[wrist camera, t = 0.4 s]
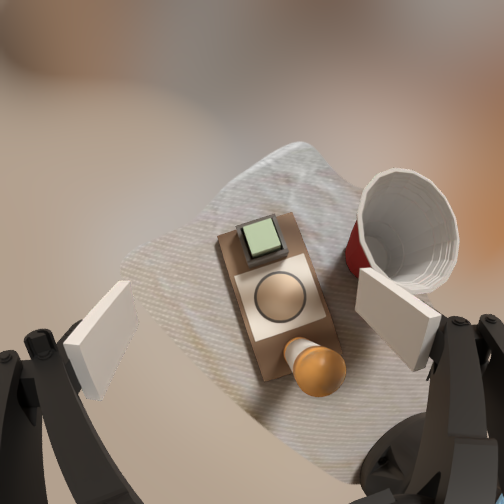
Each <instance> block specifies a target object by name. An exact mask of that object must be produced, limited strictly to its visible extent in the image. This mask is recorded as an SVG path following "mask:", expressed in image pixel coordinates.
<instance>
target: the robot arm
mask: <svg viewBox="0 0 504 504" xmlns="http://www.w3.org/2000/svg"><path fill="white" fill-rule="evenodd" d="M355 311H356V312H357V313H358V314H359V315H360V316H361V317H362V318H363V319H364V320H365V321H366V322H367V323H368V324H369V325H370V327H371V328H372V329H373V330H374V331H375V332H376V333H377V334H378V335H379V336H380V337H381V338H382V339H383V340H384V341H385V342H386V343H387V344H388V346H389V347H390V348H391V349H392V350H393V351H394V352H395V353H396V354H397V355H398V356H399V357H400V358H401V360H402V361H403V362H404V363H405V364H406V365H407V366H408V367H409V368H410V369H411V370H412V371H413V372H415V371H418V370H420V369H423V368H425V367H426V364H427V361H428V358H429V357H430V358H431V359H432V360H433V364H432V367H431V369H430V372H429V374H428V377H427V379H426V381H428V380H429V378H430V386H429V395H428V403H427V410H426V412H424V413H419V414H416V415H414V416H411V417H409V418H407V419H405V420H403V421H402V422H400V423H398V424H397V425H396V426H394V427H393V428H392V429H390V430H389V431H388V432H387V433H386V434H385V435H384V436H383V437H382V438H381V439H380V440H379V441H378V442H377V443H376V444H375V445H374V447H373V448H372V449H371V451H370V452H369V454H368V455H367V457H366V459H365V461H364V463H363V466H362V469H361V473H360V484H361V487H362V489H363V491H364V493H365V494H366V496H367V497H364V498H361V499H359V500H356V501H353V502H351V503H350V504H504V324H503V323H502V322H501V320H500V319H499V318H497V317H495V315H492V314H484V315H481V317H480V320H479V323H478V324H477V325H471V323H470V322H469V321H468V320H467V319H465V318H463V317H458V316H451V317H449V318H447V317H445V316H444V315H442V314H441V313H440V312H438V311H437V310H435V309H433V308H432V307H431V306H428V304H427V303H425V302H424V301H422V300H419V299H418V298H416V297H415V296H413V295H412V294H410V293H409V292H407V291H406V290H404V289H403V288H401V287H400V286H398V285H397V284H395V283H394V282H392V281H391V280H389V279H388V278H386V277H385V276H383V275H381V274H380V273H378V272H377V271H375V270H374V269H372V268H360V272H359V281H358V290H357V298H356V306H355ZM138 325H139V321H138V317H137V313H136V307H135V302H134V296H133V291H132V285H131V281H118V282H117V283H116V284H115V285H114V286H113V287H112V288H111V289H110V291H109V292H108V293H107V294H106V295H105V296H104V297H103V298H102V299H101V300H100V301H99V302H98V304H97V305H96V306H95V307H94V308H93V309H92V310H91V311H90V312H89V314H88V315H87V316H86V317H85V318H84V319H83V320H80V321H78V322H76V323H75V324H73V325H72V326H71V327H70V329H69V330H68V331H67V332H66V333H65V334H64V336H63V337H62V338H61V339H60V340H59V341H58V342H57V344H56V342H55V340H54V337H53V334H52V332H51V331H50V330H48V329H38V330H35V331H32V332H31V333H29V334H28V335H27V336H26V337H25V338H24V343H25V346H26V348H27V350H28V353H29V355H30V358H31V360H20V358H19V355H18V353H17V352H16V351H14V350H8V351H3V352H1V353H0V504H48V500H47V495H46V487H45V479H44V469H43V454H42V415H43V419H44V422H45V426H46V429H47V433H48V436H49V439H50V442H51V445H52V448H53V451H54V453H55V456H56V459H57V461H58V464H59V466H60V469H61V471H62V474H63V476H64V478H65V481H66V483H67V485H68V487H69V489H70V491H71V493H72V496H73V498H74V499H75V502H76V503H77V504H144V503H143V502H142V500H141V499H140V498H139V497H138V495H137V494H136V493H135V492H134V490H133V489H132V487H131V486H130V485H129V483H128V482H127V480H126V479H125V478H124V476H123V475H122V473H121V472H120V471H119V469H118V467H117V466H116V464H115V463H114V461H113V459H112V458H111V456H110V455H109V453H108V451H107V450H106V448H105V446H104V445H103V443H102V441H101V439H100V437H99V436H98V434H97V432H96V430H95V428H94V426H93V425H92V422H91V420H90V418H89V416H88V415H87V412H86V410H85V408H84V407H83V404H82V402H81V400H80V398H79V396H78V393H79V392H80V390H81V388H82V391H83V393H84V395H85V397H86V399H92V400H98V401H102V399H103V397H104V395H105V393H106V391H107V388H108V386H109V384H110V382H111V380H112V377H113V376H114V373H115V371H116V369H117V367H118V365H119V363H120V361H121V359H122V357H123V355H124V353H125V350H126V349H127V347H128V345H129V343H130V341H131V339H132V337H133V335H134V333H135V331H136V329H137V327H138ZM490 354H491V359H490V362H489V361H488V358H489V356H490ZM487 431H488V435H489V438H487Z"/></svg>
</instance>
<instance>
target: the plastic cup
mask: <svg viewBox="0 0 504 504" xmlns="http://www.w3.org/2000/svg"><path fill="white" fill-rule="evenodd" d="M458 249H459V234H458V228H457V222H456V217H455V215H454V213H453V211H452V208H451V206H450V204H449V202H448V200H447V198H446V197H445V196H444V194H443V193H442V192H441V191H440V190H439V189H438V187H437V186H436V185H435V184H434V183H433V182H432V181H431V180H429V179H428V178H426V177H424V176H423V175H421V174H419V173H417V172H416V171H413V170H408V169H400V168H392V169H389V170H387V171H384V172H381V173H379V174H376V175H375V177H374V178H373V179H372V180H371V182H370V183H369V184H368V185H367V186H366V187H365V189H364V190H363V192H362V196H361V200H360V204H359V208H358V212H357V220H356V223H355V225H354V227H353V230H352V232H351V235H350V238H349V241H348V244H347V247H346V251H345V256H346V264H347V266H348V268H349V270H350V272H351V273H353V274H354V275H355V276H356V277H357V278H358V279H359V272H360V268H372V269H374V270H375V271H377V272H378V273H380V274H381V275H383V276H385V277H386V278H388V279H389V280H391V281H392V282H394V283H395V284H397V285H398V286H400V287H401V288H403V289H404V290H406V291H407V292H409V293H410V294H412V295H415V294H423V293H431V292H433V291H434V290H435V289H437V288H438V287H439V286H441V285H442V284H443V283H445V282H446V281H447V280H448V278H449V276H450V274H451V272H452V270H453V269H454V266H455V265H456V263H457V256H458Z"/></svg>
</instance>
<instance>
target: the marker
mask: <svg viewBox="0 0 504 504" xmlns="http://www.w3.org/2000/svg"><path fill="white" fill-rule="evenodd" d="M283 354H284V358H285V360H286V362H287V363H288V365H289V367H290V369H291V370H292V372H293V374H294V377H295V380H296V382H297V384H298V385H299V387H300V388H301V390H302V391H303V392H305V393H306V394H308V395H310V396H314V397H323V396H327V395H330V394H332V393H333V392H335V391H336V390H337V389H338V388H339V387H340V386H341V385H342V383H343V381H344V379H345V375H346V366H345V362H344V360H343V358H342V357H341V356H340V355H339V354H338V353H337V352H335V351H333V350H331V349H329V348H326V347H323V346H320V345H318V344H316V343H314V342H312V341H310V340H308V339H306V338H303V337H296V338H293V339H291V340H289V341H288V342H287V344H286V345H285V347H284V351H283Z"/></svg>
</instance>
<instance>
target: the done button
mask: <svg viewBox="0 0 504 504" xmlns="http://www.w3.org/2000/svg"><path fill="white" fill-rule="evenodd" d="M243 229H244V233H245V236H246V239H247V242H248V245H249V248H250V251H251V254H252V257H253V258H256V257H259V256H263V255H266V254H269V253H272V252H275V251H278V250H280V246H281V244H280V241H279V238H278V236H277V233H276V230H275V228H274V225H273V222H272V220H271V218H269V219H266V220H263V221H260V222H257V223H254V224H250V225H247V226H244V227H243Z"/></svg>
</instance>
